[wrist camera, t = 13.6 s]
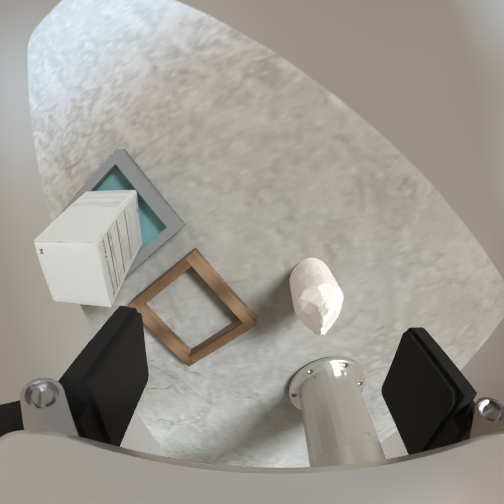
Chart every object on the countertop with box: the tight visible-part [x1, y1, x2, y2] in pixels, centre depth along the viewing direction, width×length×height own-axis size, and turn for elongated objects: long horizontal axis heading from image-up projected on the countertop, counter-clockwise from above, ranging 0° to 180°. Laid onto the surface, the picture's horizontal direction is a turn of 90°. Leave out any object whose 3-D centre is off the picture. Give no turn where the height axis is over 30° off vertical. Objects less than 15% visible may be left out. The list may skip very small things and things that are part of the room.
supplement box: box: [34, 190, 142, 307], centre depth 29 cm, size 7×7×13 cm
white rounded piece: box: [289, 258, 344, 336], centre depth 33 cm, size 6×12×6 cm
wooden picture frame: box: [128, 248, 256, 366], centre depth 39 cm, size 12×12×2 cm
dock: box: [61, 150, 185, 276], centre depth 35 cm, size 12×12×2 cm
